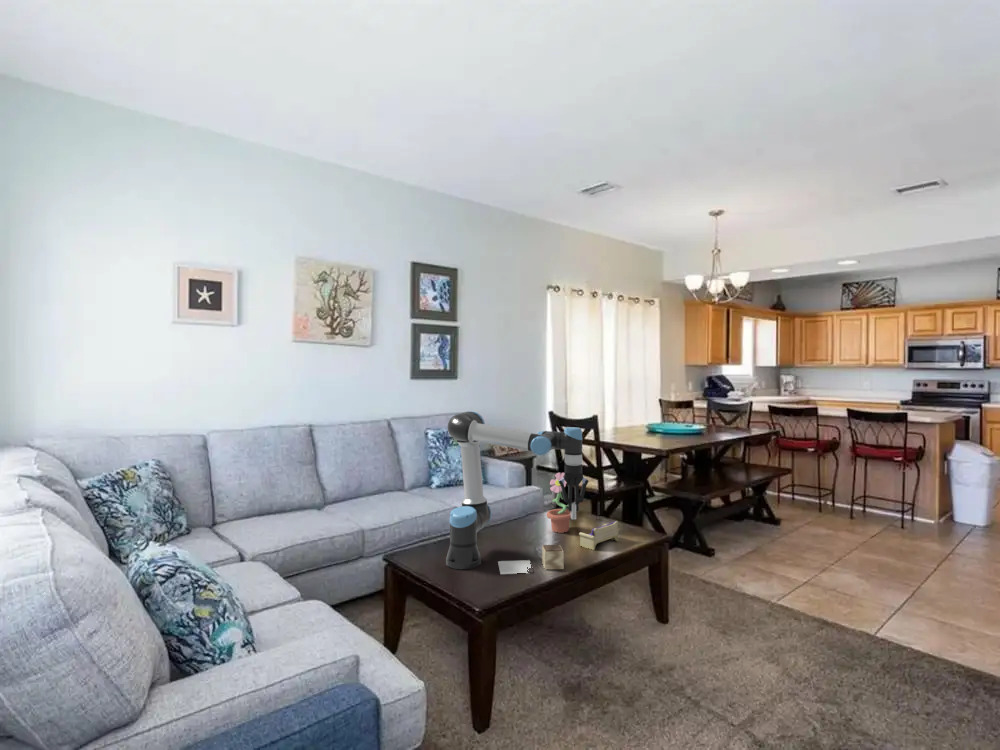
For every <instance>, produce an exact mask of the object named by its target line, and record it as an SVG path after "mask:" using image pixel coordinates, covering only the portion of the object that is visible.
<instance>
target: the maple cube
mask: <svg viewBox="0 0 1000 750" xmlns="http://www.w3.org/2000/svg"><path fill="white" fill-rule="evenodd" d="M564 552H565V551H564V550H563V548H562V546H561V545H560V544H543V545H541V565H542V564H543V565H542V567H543V566H544V567H543V569H544V568H545V569H564V570H565V567H564V565H565V564H564V562H565V561H564V557H565V556H564V555H565V553H564ZM545 569H544V570H545Z"/></svg>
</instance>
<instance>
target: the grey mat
mask: <svg viewBox="0 0 1000 750" xmlns="http://www.w3.org/2000/svg"><path fill="white" fill-rule="evenodd" d="M497 563H498V564H497V565H498V568H499V569H498V570H499V574H500V575H518V574H517V573H526V574H529V573H528V572H527V570H528V569H529V568H531V565H532V563H531V561H530V559H528V560H523V559H522V560H500V561H498V560H497ZM530 563H531V564H530ZM527 567H528V569H527ZM528 571H529V570H528Z"/></svg>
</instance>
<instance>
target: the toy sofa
mask: <svg viewBox="0 0 1000 750" xmlns="http://www.w3.org/2000/svg"><path fill="white" fill-rule="evenodd" d="M619 532H620V527H619V521H618V520H615V521H612V522H610V523H604V524H603V525H602V526H599V527H594V528H592V530H591V533H585V532H581V531H580V532H579V533H578V536H579V546H580V547H581V546H582V548H585V549H588V548H589V549H588V550H591V549H592V551H595V550H596V546H597V544H599V543H602V542H605V541H608V540H611V541H615V542H619Z"/></svg>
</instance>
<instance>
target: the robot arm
mask: <svg viewBox="0 0 1000 750" xmlns="http://www.w3.org/2000/svg"><path fill="white" fill-rule="evenodd" d="M447 432H448V433H449V435H450V437H452V438H453V439H454V440H456V443H457V444H458V445H459V446H460V452H461V453H460V454H461V455H460V457H461V466H462V480H463V493H464V498H463V500H461V506H459V507H454V509H452V510H451V512H450V513H449V520H448V521H449V547H448V551H447V555H446V557H445V565H446V567H449V568H451V569H454V570H469V569H470V570H471V569H475V568H478V567H479V566H480V565H481V564H482V557H481V553H480V551H479V547H478V545H477V543H478V541H477V540H478V539H477V537H478V536H477V535H478V534H477V533H478V532H480V531H481V530H482V529H484V528H485V527H486V526H487V525H489V523H490V521H491V519H492V510H491V506H489V504H488V499H487V498H486V497H485V496H484V488H483V475H482V464H481V463H482V462H481V461H482V460H481V450H480V444H481V443H485V444H490V445H496V446H499V447H501V446H502V447H506V448H512V449H517V450H522V451H527V452H531V453H533V454H535V455H537V456H544V455H546V454H548V453H549V452H550V451H552V450H564V473H565V474H564V476H563V478H562V479H561V480H558V482H559V483H560V485H561V489H562V491H561V494H562V498H563V501H564V502H565V503H566V504H567V505H568V506H567V510H569V511H571V519H570V520H577V512H578V511H579V507H580V506H579V504H580V503H583V502H584V499H585V493H586V488H587V485H588V484H589V482H590V481H589V480H588V479H587V478H585V477H584V474H583V430H582V429H581V427H577V426H576V427H574V426H572V427H571V426H569V427H565V428H564V431H550V430H543V431H542V430H540V431H538V432H537V433H533V432H527V431H521V430H516V429H511V428H506V427H500V426H495V425H489V424H485V420H484V418H483V416H482V415H481V414H479V413H478V412H476V411H471V410H470V411H464V412H461V413H457V414H455V415H453V416H452V417H451V418H449V420H448V422H447ZM564 481H566V482H567V483H566V485H567V487H568V488H567V492H566V486H564V483H565V482H564ZM581 483H582V485H581V487H580V489H579V485H580V484H581ZM573 487H574V502H573ZM579 490H580V493H579Z"/></svg>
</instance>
